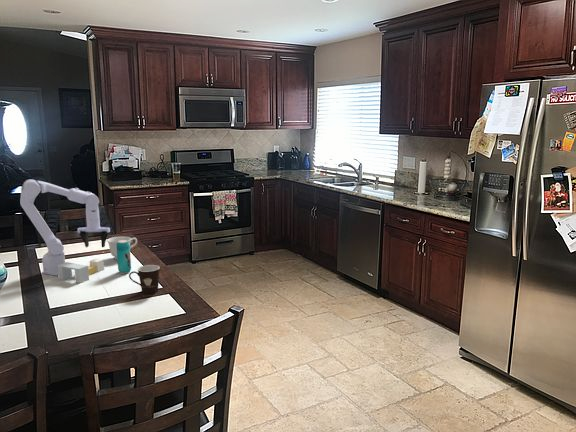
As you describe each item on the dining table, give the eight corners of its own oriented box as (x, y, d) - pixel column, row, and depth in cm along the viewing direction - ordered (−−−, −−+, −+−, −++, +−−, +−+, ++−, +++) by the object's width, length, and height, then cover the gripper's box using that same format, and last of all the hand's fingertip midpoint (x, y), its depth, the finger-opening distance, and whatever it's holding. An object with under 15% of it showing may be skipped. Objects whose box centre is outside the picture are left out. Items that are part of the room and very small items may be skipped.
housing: (58, 279, 209) (57, 265, 207) (68, 275, 213) (66, 262, 212) (80, 283, 204) (78, 268, 203) (89, 279, 208) (87, 265, 207)
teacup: (141, 258, 240) (140, 239, 238) (111, 263, 232) (110, 243, 230) (134, 252, 250) (133, 234, 248) (105, 257, 242) (104, 238, 240)
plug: (77, 276, 212) (76, 266, 211) (96, 268, 224) (95, 258, 222) (85, 277, 211) (84, 267, 210) (104, 269, 222) (103, 259, 221)
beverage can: (127, 274, 215) (125, 243, 212) (115, 273, 217) (113, 242, 213) (133, 270, 221) (131, 239, 218) (122, 269, 222) (120, 239, 219)
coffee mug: (164, 289, 198) (163, 266, 196) (152, 296, 190) (151, 272, 188) (141, 285, 202) (140, 263, 199) (128, 292, 194) (127, 269, 192)
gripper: (73, 220, 217) (76, 249, 220) (105, 220, 218) (107, 249, 221) (80, 217, 224) (82, 245, 227) (110, 217, 225) (112, 245, 228)
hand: (95, 246), depth 224 cm, fingers open, 7 cm apart
